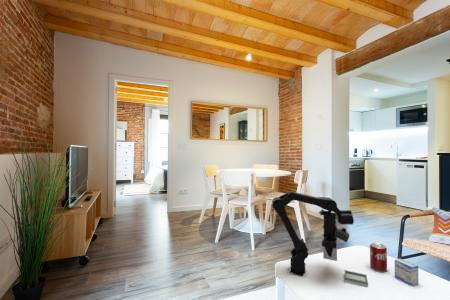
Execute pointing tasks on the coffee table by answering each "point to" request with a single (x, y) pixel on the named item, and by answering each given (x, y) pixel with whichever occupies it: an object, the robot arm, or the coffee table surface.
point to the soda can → (378, 257)
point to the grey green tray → (356, 278)
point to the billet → (334, 254)
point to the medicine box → (406, 272)
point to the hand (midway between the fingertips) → (330, 254)
